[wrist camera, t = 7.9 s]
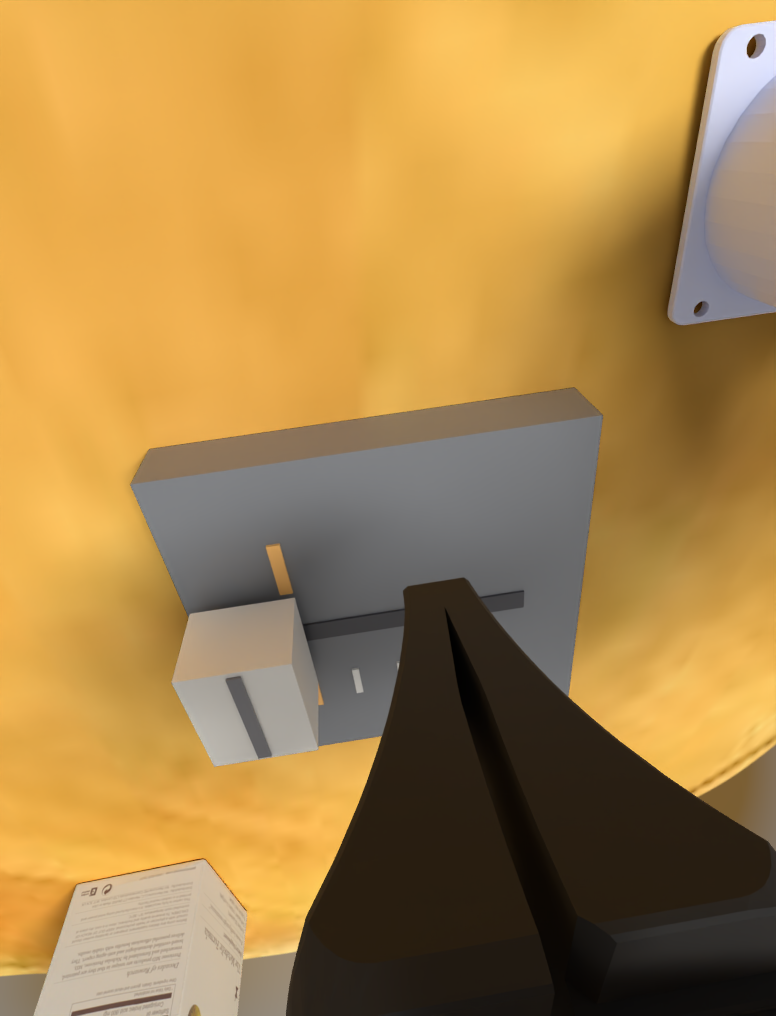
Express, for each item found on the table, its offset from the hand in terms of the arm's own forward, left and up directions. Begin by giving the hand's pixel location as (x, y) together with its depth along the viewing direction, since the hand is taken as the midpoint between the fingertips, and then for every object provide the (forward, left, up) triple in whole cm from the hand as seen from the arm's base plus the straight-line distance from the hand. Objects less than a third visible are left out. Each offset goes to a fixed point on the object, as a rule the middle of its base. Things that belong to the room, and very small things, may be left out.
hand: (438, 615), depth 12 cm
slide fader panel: (+1, +8, -10) cm, 13 cm away
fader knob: (+6, +8, -8) cm, 13 cm away
